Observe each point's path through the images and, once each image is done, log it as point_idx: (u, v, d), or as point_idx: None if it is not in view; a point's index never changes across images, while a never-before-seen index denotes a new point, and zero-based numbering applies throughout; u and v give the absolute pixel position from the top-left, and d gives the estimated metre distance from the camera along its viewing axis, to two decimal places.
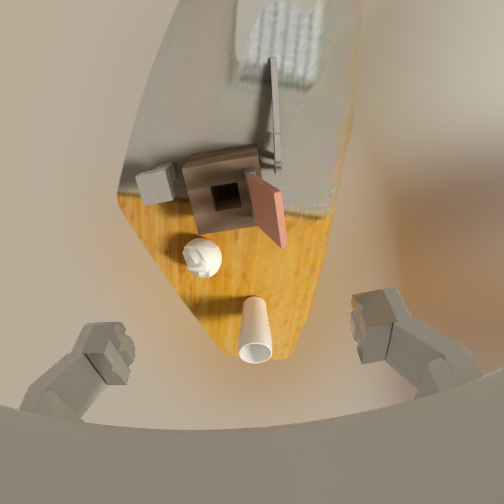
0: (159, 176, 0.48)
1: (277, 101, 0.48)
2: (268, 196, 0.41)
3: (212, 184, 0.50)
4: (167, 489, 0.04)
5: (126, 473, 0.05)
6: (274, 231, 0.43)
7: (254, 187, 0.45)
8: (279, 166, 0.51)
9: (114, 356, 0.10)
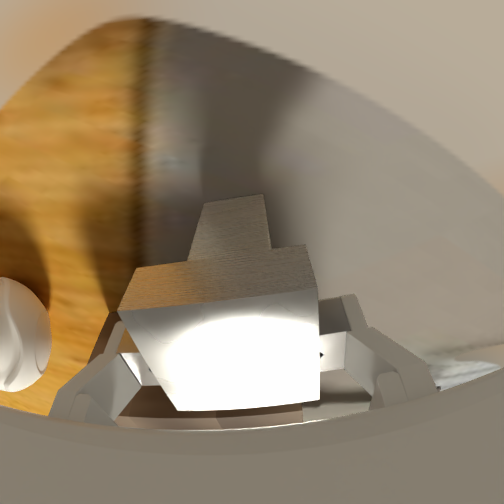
0: (295, 386, 0.10)
1: None
2: None
3: None
4: (166, 490, 0.04)
5: (126, 473, 0.05)
6: None
7: None
8: None
9: None
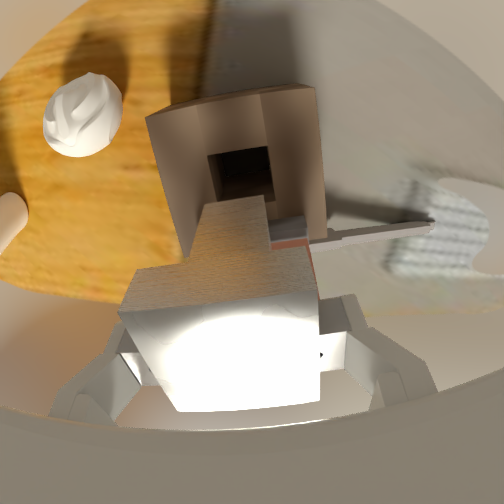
0: (295, 387, 0.10)
1: (384, 238, 0.32)
2: None
3: (272, 151, 0.22)
4: (167, 489, 0.04)
5: (126, 473, 0.05)
6: None
7: None
8: None
9: None
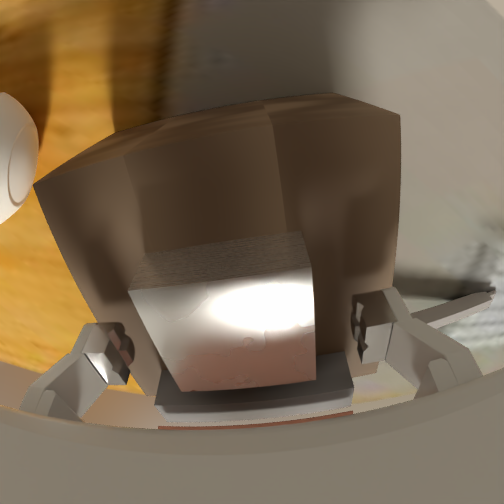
0: (293, 365, 0.10)
1: (439, 325, 0.21)
2: None
3: None
4: (167, 489, 0.04)
5: (126, 473, 0.05)
6: None
7: None
8: None
9: (114, 356, 0.10)
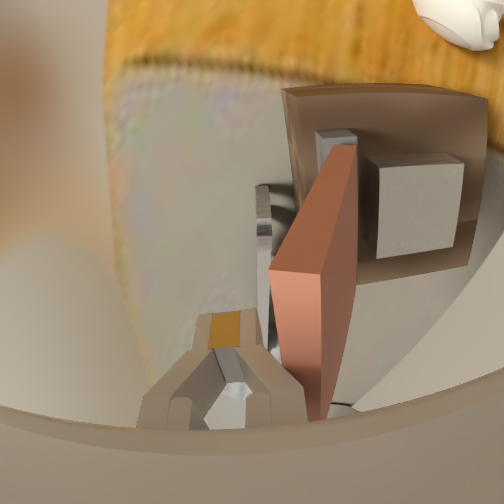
0: (395, 244, 0.16)
1: (260, 321, 0.30)
2: (331, 392, 0.11)
3: None
4: (166, 490, 0.04)
5: (126, 473, 0.05)
6: (333, 296, 0.08)
7: (350, 305, 0.14)
8: None
9: None
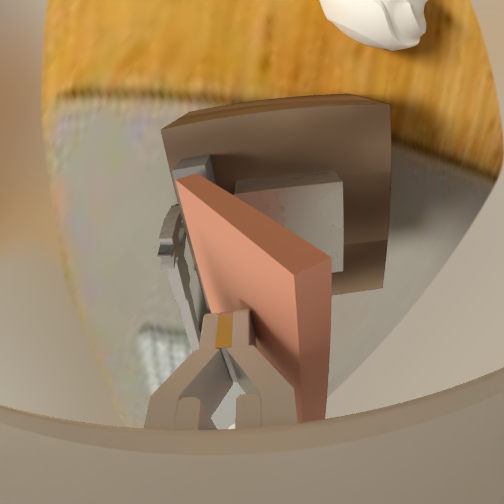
0: None
1: (188, 332, 0.30)
2: None
3: None
4: (166, 490, 0.04)
5: (126, 473, 0.05)
6: None
7: None
8: None
9: None
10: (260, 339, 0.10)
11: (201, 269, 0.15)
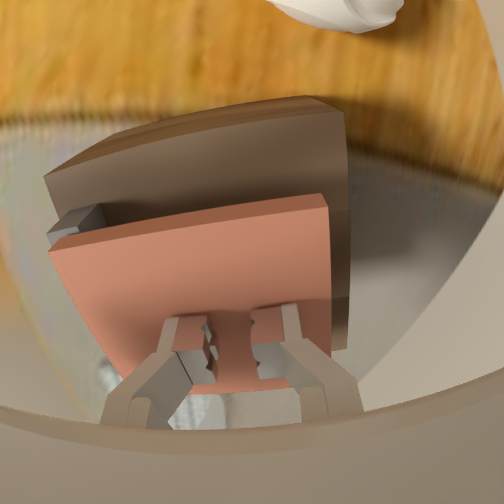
0: None
1: None
2: None
3: None
4: (166, 489, 0.04)
5: (126, 473, 0.05)
6: None
7: None
8: None
9: (208, 352, 0.09)
10: None
11: (112, 344, 0.11)
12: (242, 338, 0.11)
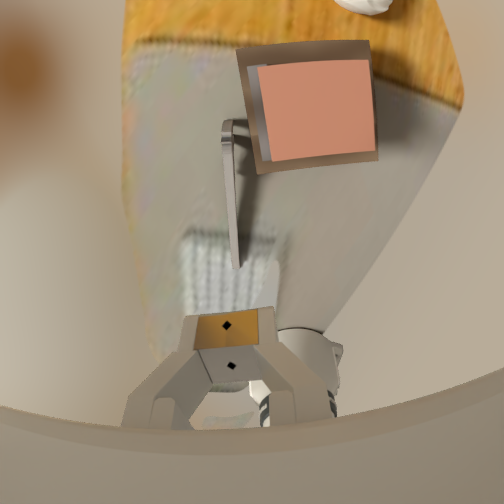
0: None
1: (230, 226, 0.39)
2: None
3: None
4: (166, 490, 0.04)
5: (126, 473, 0.05)
6: None
7: None
8: (225, 145, 0.31)
9: None
10: (345, 107, 0.23)
11: (274, 119, 0.24)
12: (337, 113, 0.23)
